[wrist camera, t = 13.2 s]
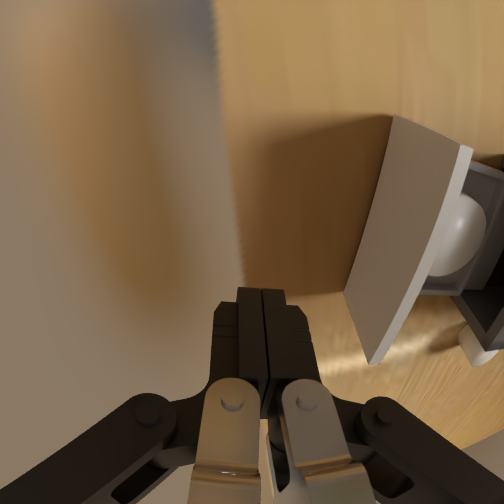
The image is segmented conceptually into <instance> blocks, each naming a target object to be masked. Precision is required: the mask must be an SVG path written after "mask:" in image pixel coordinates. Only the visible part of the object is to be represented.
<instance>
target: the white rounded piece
mask: <svg viewBox="0 0 504 504" xmlns="http://www.w3.org/2000/svg"><path fill="white" fill-rule="evenodd" d="M458 342H459V344H460V346H461V348H462V349H463V351H464V353H465V355H466V357H467V359H468V360H469V362H470V364H471V366H472V367H477V366H480V365H482V364H484V363H486V362H487V361H489V360H490V359H491V358H492V357H493V356H494V355H495V354H496V353H497V352H498V350H494V351H488V352H485V351H484V349H483V348H482V346H481V344H480V343H479V341H478V339H477V338H476V336H475V334H474V333H473V331H472V329H471V328H470V326H469V325H468V324H467V325H465V326H464V328H463V329H462V330H461V331H460V333H459V335H458Z"/></svg>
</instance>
